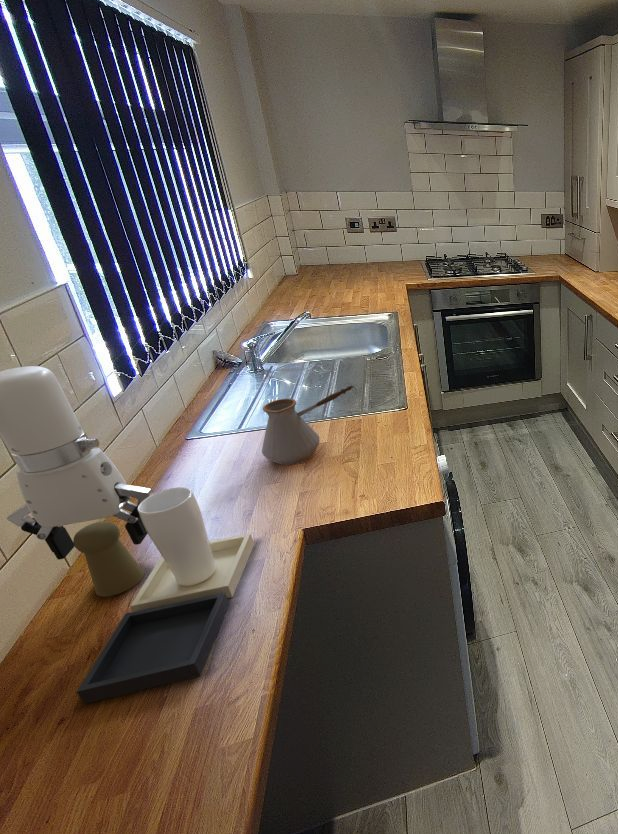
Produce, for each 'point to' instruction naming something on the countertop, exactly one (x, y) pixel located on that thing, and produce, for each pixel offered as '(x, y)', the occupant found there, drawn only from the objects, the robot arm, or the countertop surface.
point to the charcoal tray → (156, 648)
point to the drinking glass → (179, 534)
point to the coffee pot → (291, 431)
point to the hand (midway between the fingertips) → (105, 545)
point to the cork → (107, 559)
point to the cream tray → (224, 580)
